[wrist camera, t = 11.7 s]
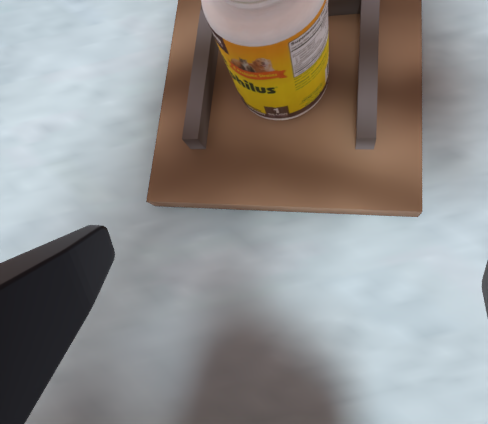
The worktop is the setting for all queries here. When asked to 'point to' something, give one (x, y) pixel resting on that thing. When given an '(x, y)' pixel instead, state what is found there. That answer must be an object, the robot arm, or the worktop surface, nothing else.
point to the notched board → (298, 123)
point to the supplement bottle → (273, 52)
